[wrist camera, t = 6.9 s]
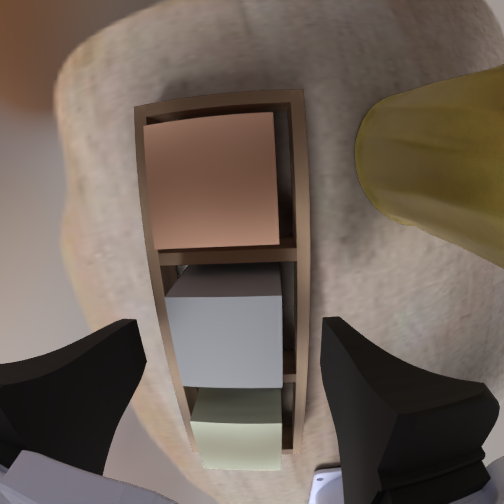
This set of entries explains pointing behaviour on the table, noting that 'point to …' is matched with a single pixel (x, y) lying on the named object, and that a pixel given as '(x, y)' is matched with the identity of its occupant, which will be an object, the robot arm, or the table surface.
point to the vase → (440, 160)
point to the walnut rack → (227, 248)
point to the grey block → (228, 325)
